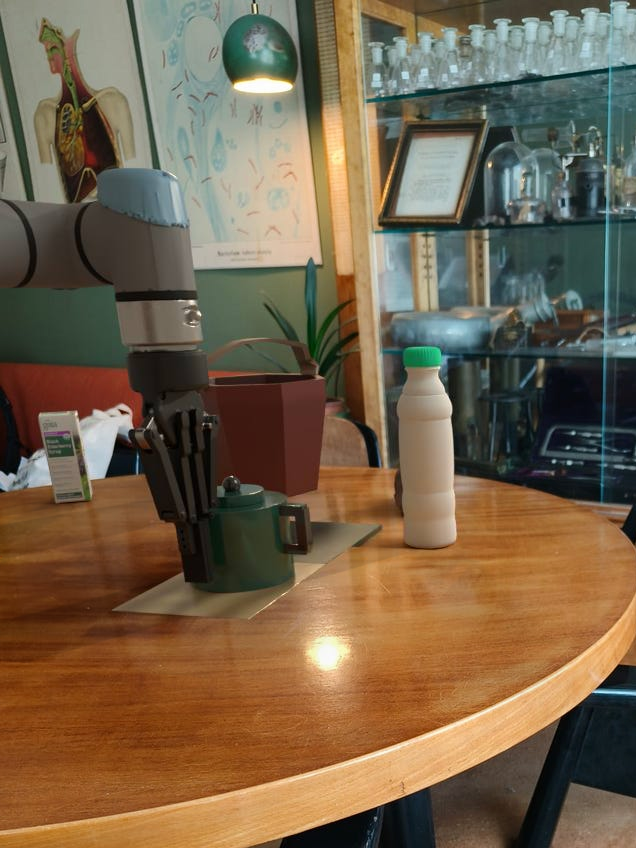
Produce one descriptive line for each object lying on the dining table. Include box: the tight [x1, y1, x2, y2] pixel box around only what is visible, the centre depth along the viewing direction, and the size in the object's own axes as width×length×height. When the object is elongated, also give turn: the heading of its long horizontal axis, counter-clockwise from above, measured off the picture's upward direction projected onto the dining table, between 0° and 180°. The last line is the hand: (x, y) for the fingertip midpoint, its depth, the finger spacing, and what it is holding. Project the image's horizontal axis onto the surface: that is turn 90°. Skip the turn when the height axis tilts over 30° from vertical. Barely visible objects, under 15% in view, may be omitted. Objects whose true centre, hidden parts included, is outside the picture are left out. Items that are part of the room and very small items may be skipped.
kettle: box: [190, 476, 313, 593], centre depth 101 cm, size 18×12×12 cm, turn 76°
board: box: [111, 520, 383, 621], centre depth 110 cm, size 16×40×1 cm, turn 166°
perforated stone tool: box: [393, 467, 403, 512], centre depth 137 cm, size 15×5×7 cm, turn 1°
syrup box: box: [37, 410, 94, 505], centre depth 148 cm, size 6×6×14 cm
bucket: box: [199, 337, 327, 498], centre depth 150 cm, size 24×22×25 cm
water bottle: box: [396, 346, 457, 550], centre depth 114 cm, size 7×7×25 cm
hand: (199, 580), depth 94 cm, fingers closed
